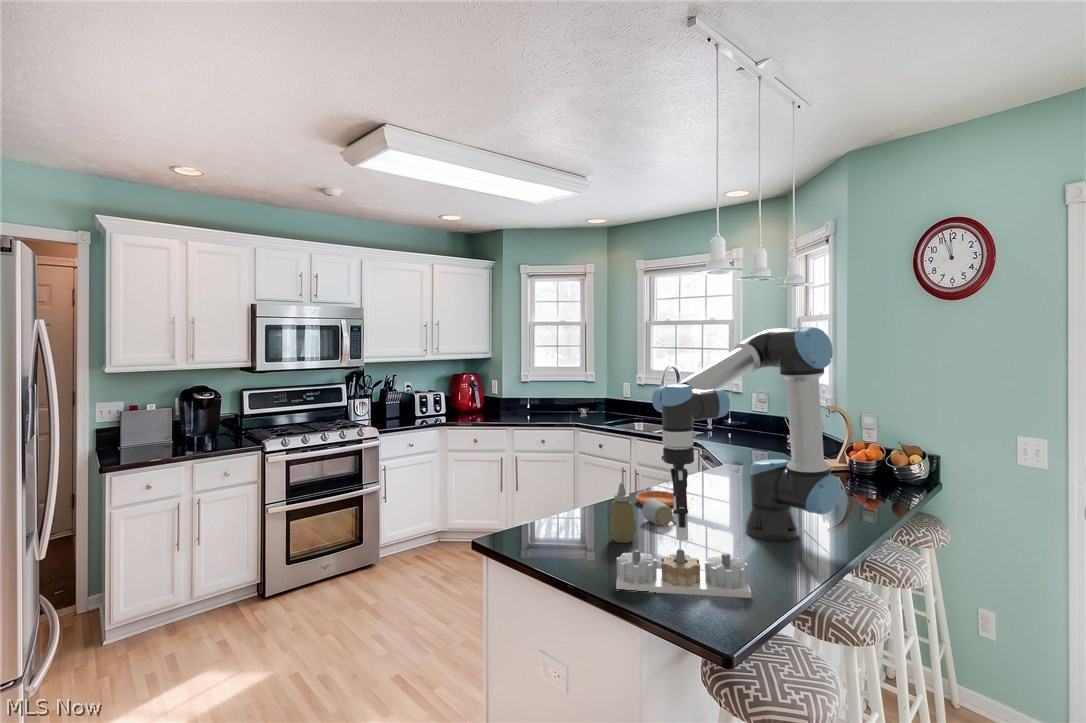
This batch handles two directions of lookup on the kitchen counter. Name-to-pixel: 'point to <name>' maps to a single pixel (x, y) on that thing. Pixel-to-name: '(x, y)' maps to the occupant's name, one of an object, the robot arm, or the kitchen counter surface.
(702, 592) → the gear board
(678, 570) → the wooden gear
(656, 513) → the ceramic mug
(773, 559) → the kitchen counter surface
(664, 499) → the saucer
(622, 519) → the squeeze bottle
